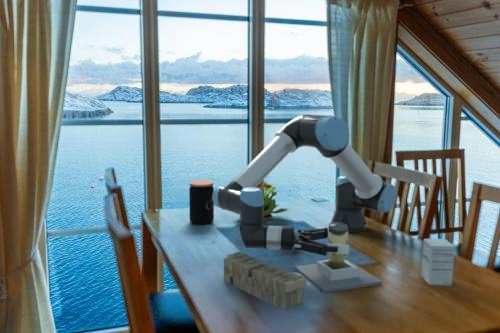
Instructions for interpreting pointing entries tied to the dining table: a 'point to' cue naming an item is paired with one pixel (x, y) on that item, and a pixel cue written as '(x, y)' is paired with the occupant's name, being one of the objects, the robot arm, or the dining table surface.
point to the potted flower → (269, 201)
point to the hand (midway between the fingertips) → (348, 242)
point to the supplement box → (437, 261)
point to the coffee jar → (201, 202)
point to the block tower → (264, 280)
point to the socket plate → (337, 276)
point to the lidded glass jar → (337, 237)
